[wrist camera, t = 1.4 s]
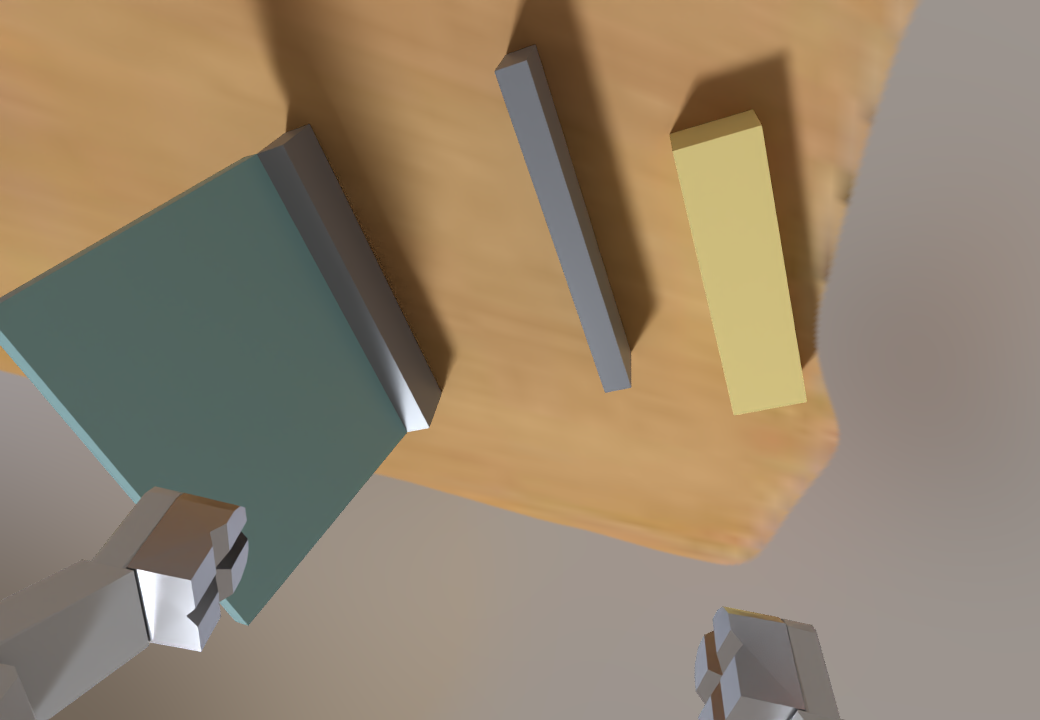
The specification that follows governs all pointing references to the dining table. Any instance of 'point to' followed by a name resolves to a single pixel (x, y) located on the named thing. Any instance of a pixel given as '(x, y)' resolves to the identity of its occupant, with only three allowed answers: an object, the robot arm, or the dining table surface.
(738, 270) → the pale yellow strip
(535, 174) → the pair of grey bars
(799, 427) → the dining table surface
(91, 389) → the panel
